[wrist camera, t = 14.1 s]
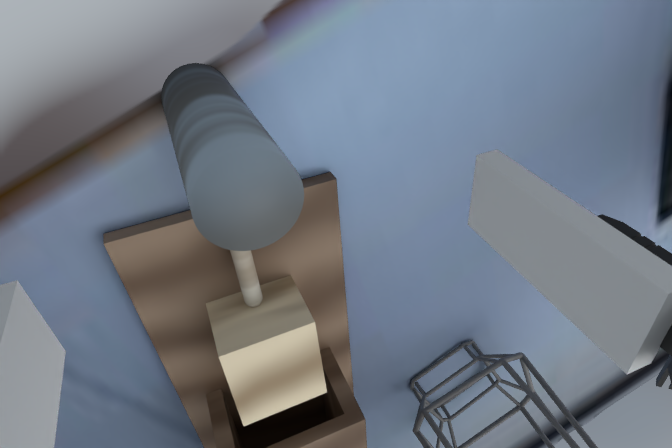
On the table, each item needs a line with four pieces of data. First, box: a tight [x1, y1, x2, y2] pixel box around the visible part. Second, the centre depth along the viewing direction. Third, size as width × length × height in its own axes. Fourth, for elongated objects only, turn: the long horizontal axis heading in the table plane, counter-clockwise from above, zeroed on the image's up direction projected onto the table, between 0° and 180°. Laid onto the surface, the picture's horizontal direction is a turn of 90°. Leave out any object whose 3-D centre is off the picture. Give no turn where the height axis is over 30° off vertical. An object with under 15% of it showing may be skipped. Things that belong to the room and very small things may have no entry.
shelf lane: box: [104, 172, 367, 448], centre depth 35 cm, size 32×14×8 cm, turn 4°
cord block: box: [161, 63, 327, 426], centre depth 24 cm, size 22×6×12 cm, turn 4°
